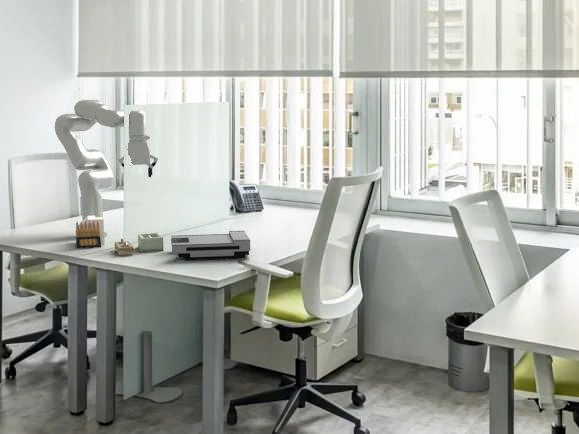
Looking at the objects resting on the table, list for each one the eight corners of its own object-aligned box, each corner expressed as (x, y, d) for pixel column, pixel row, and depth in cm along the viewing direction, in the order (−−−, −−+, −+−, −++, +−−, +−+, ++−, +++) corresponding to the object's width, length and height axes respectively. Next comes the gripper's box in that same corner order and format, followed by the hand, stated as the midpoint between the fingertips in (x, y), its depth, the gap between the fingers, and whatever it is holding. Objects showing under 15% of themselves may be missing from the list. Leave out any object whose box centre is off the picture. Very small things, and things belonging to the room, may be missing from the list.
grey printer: (171, 251, 327) (171, 232, 325) (244, 248, 332) (244, 230, 331) (172, 262, 307) (172, 242, 305) (250, 259, 312) (250, 240, 311)
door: (114, 248, 328) (114, 242, 327) (128, 247, 330) (128, 241, 329) (119, 255, 316) (119, 248, 315) (133, 254, 318) (133, 247, 317)
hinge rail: (116, 249, 328) (115, 238, 327) (127, 249, 330) (127, 237, 329) (120, 256, 316) (120, 244, 315) (132, 255, 318) (132, 243, 317)
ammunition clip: (76, 248, 331) (74, 221, 328) (76, 247, 332) (74, 221, 330) (101, 247, 333) (100, 220, 331) (101, 246, 335) (99, 220, 333)
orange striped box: (104, 245, 337) (103, 219, 335) (78, 246, 334) (77, 220, 332) (103, 240, 347) (102, 215, 345) (78, 242, 344) (76, 216, 342)
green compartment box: (138, 247, 333) (137, 234, 332) (158, 245, 337) (157, 232, 336) (142, 252, 323) (142, 238, 322) (163, 250, 326) (163, 237, 325)
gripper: (155, 138, 339) (156, 175, 341) (116, 139, 332) (118, 177, 335) (158, 139, 332) (159, 177, 335) (119, 140, 325) (120, 179, 328)
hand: (138, 177), depth 335 cm, fingers open, 9 cm apart
